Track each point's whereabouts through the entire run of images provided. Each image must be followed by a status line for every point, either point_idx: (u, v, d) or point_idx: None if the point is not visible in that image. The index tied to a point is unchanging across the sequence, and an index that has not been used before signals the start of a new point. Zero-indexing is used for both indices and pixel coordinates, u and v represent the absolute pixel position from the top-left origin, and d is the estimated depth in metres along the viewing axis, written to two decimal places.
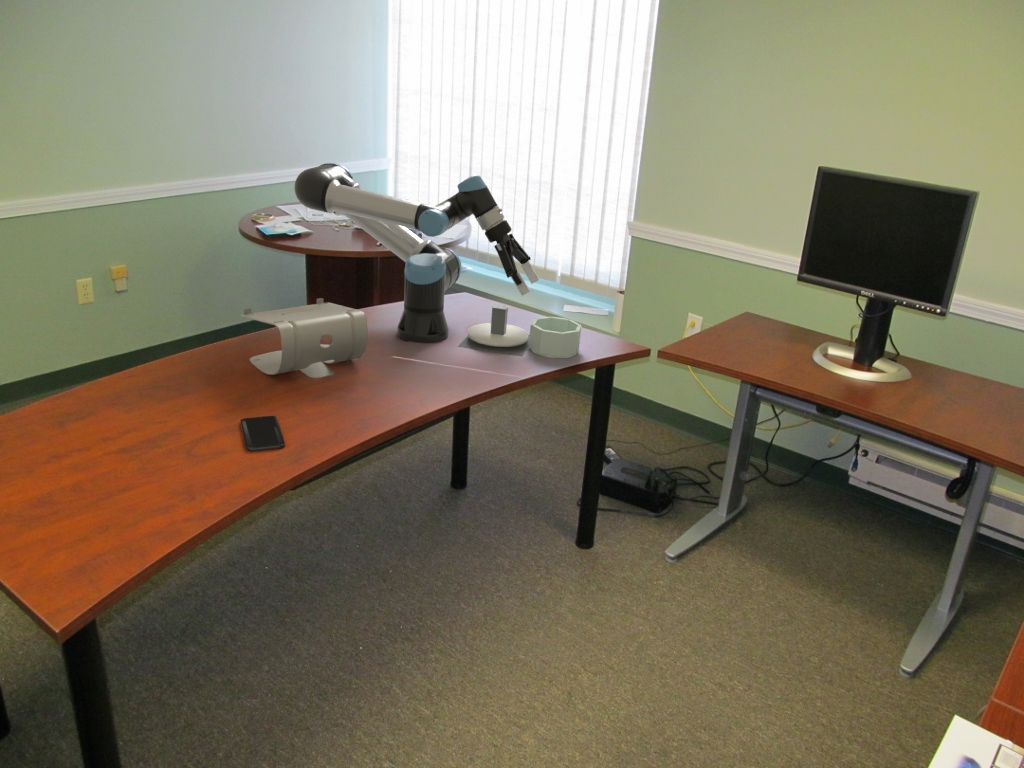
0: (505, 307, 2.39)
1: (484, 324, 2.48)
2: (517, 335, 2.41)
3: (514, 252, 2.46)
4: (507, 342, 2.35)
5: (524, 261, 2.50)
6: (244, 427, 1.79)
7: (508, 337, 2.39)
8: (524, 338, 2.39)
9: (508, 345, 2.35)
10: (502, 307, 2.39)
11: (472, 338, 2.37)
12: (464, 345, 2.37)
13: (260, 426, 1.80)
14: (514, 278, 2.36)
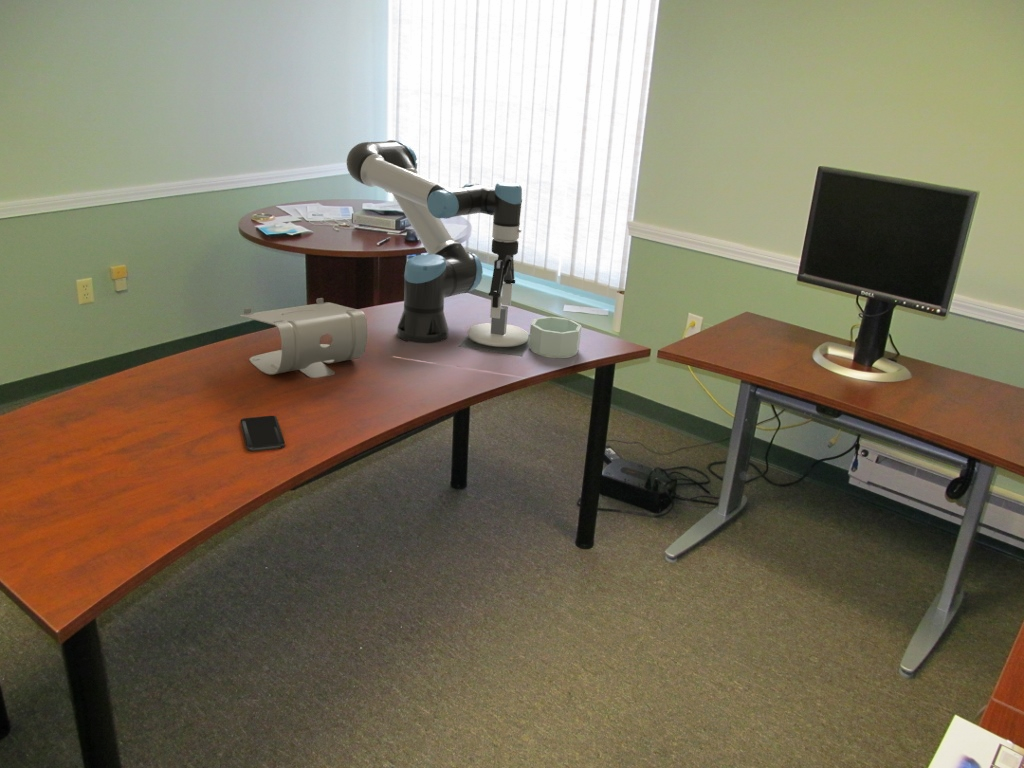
0: (505, 307, 2.39)
1: (484, 324, 2.48)
2: (517, 335, 2.41)
3: None
4: (507, 342, 2.35)
5: (508, 281, 2.43)
6: (244, 427, 1.79)
7: (508, 337, 2.39)
8: (524, 338, 2.39)
9: (508, 345, 2.35)
10: (502, 307, 2.39)
11: (472, 338, 2.37)
12: (464, 345, 2.37)
13: (260, 426, 1.80)
14: (494, 300, 2.30)
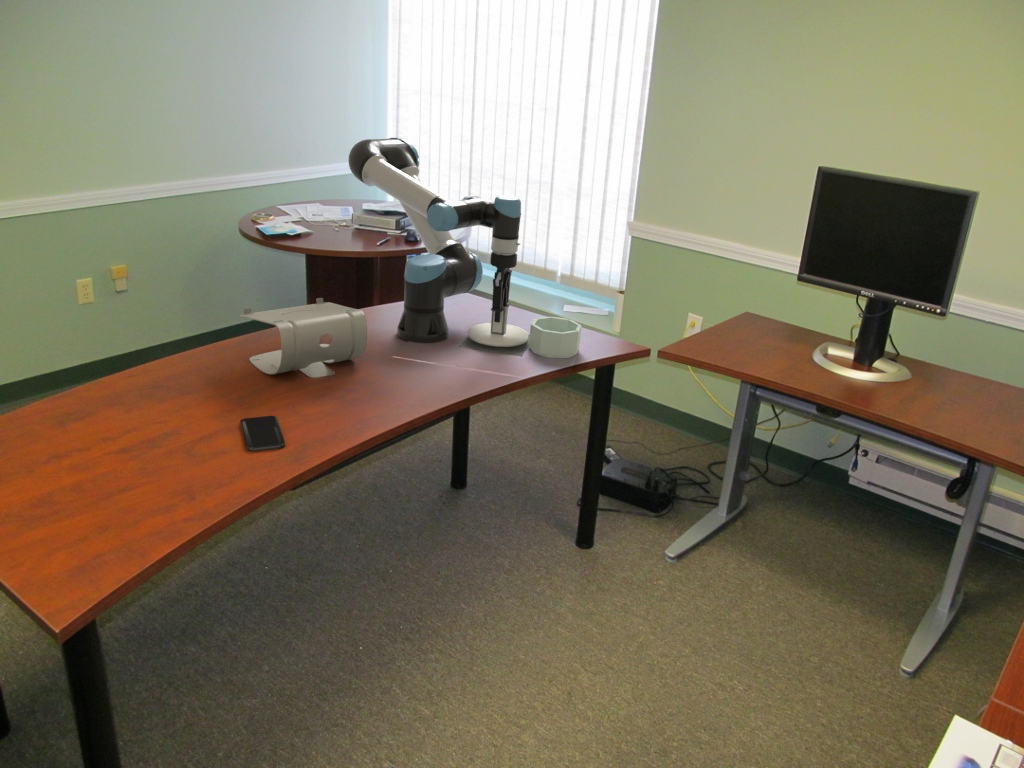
0: (505, 307, 2.39)
1: (484, 324, 2.48)
2: (517, 335, 2.41)
3: None
4: (507, 342, 2.35)
5: (502, 304, 2.41)
6: (244, 427, 1.79)
7: (508, 337, 2.39)
8: (524, 338, 2.39)
9: (508, 345, 2.35)
10: None
11: (472, 338, 2.37)
12: (464, 345, 2.37)
13: (260, 426, 1.80)
14: (496, 314, 2.37)
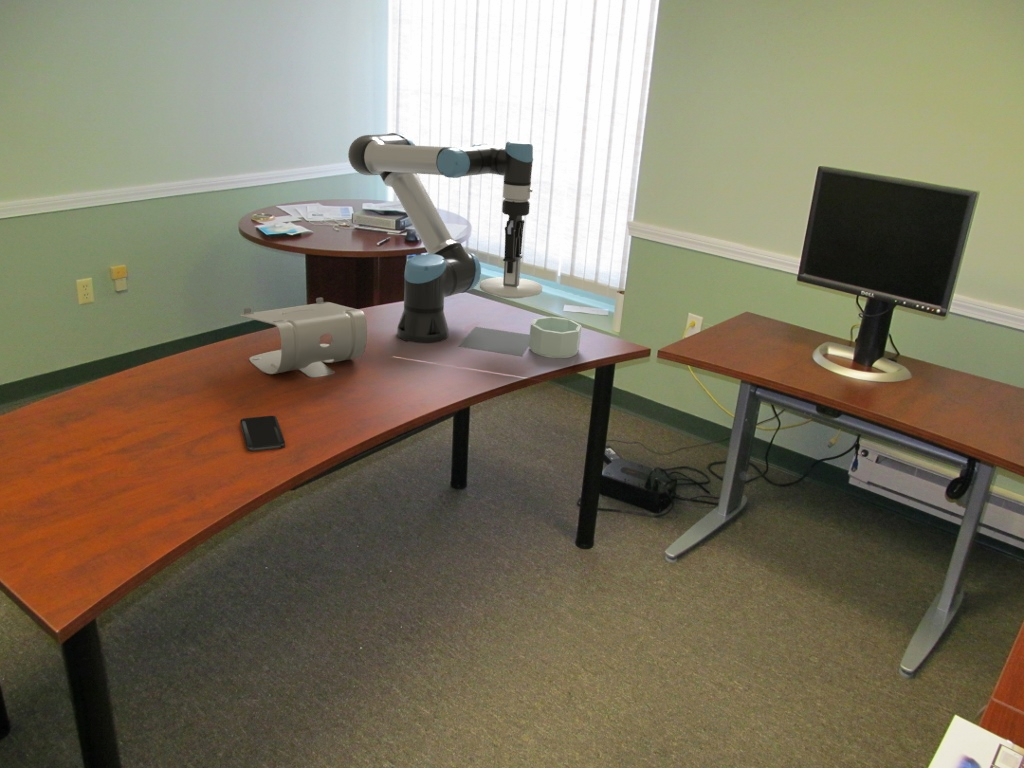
0: (518, 258, 2.33)
1: (496, 278, 2.41)
2: (530, 287, 2.35)
3: None
4: (520, 293, 2.28)
5: None
6: (244, 427, 1.79)
7: (521, 288, 2.33)
8: (538, 289, 2.33)
9: (521, 296, 2.28)
10: (515, 258, 2.32)
11: (484, 290, 2.31)
12: (464, 345, 2.37)
13: (260, 426, 1.80)
14: (508, 265, 2.30)
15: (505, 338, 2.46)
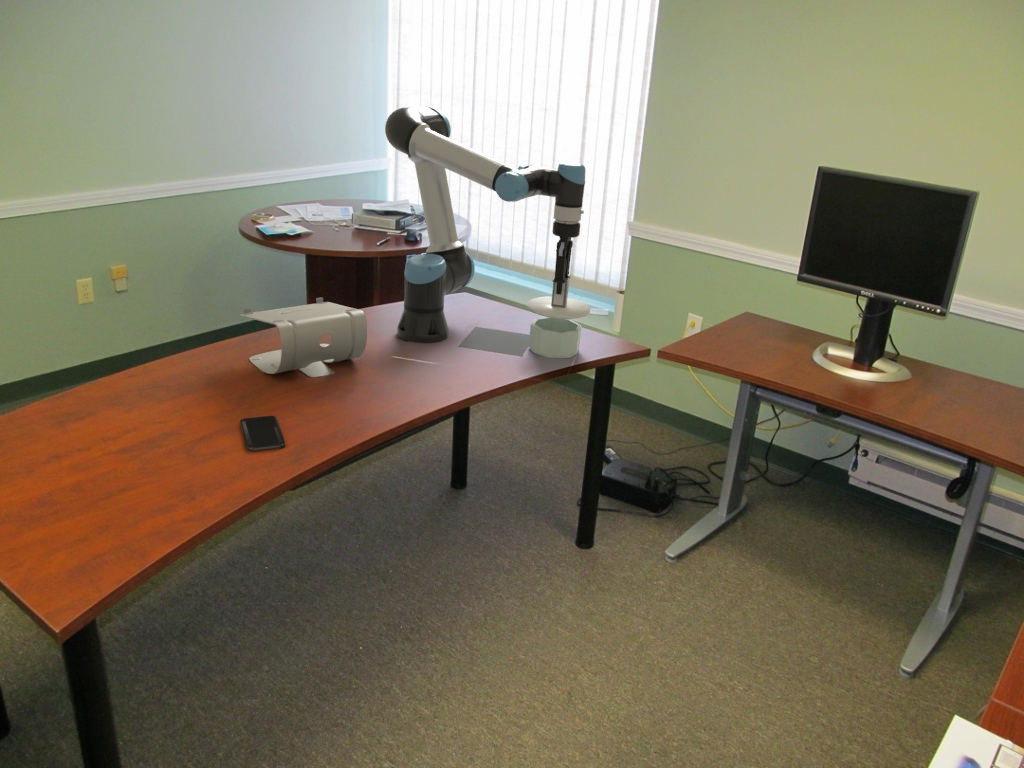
0: (567, 278, 2.32)
1: (543, 298, 2.41)
2: (578, 307, 2.34)
3: None
4: (570, 314, 2.28)
5: None
6: (244, 427, 1.79)
7: (570, 309, 2.32)
8: (586, 310, 2.32)
9: (571, 317, 2.27)
10: None
11: (533, 310, 2.30)
12: (464, 345, 2.37)
13: (260, 426, 1.80)
14: (558, 286, 2.29)
15: (505, 338, 2.46)
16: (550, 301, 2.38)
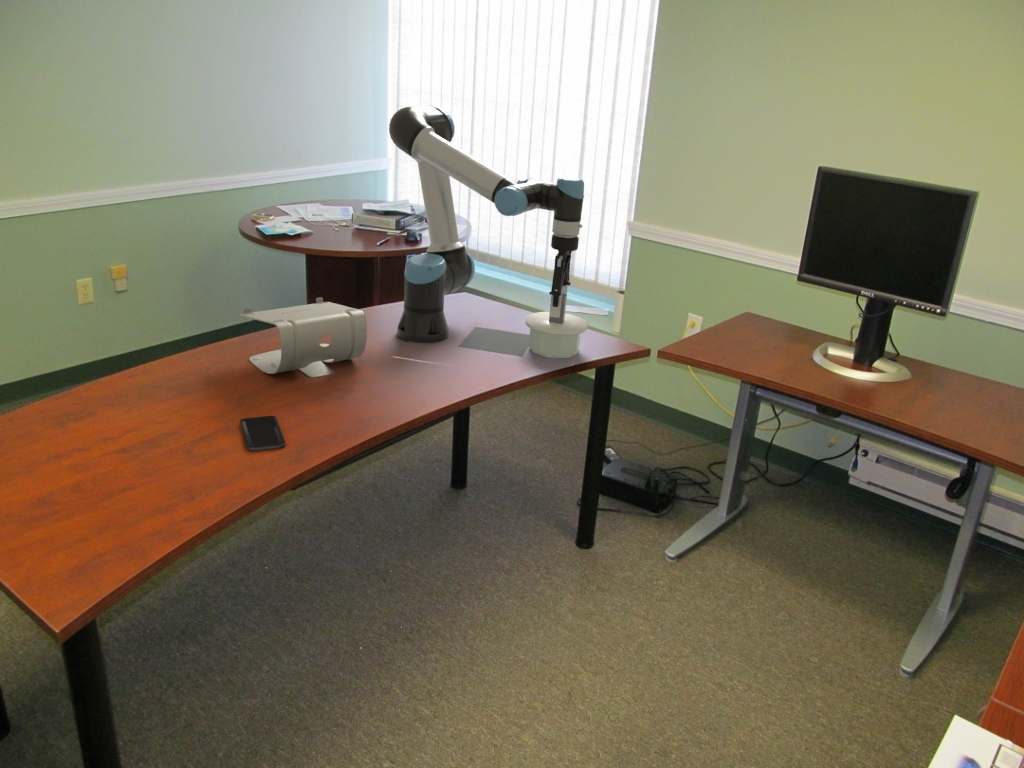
0: (564, 295, 2.34)
1: (540, 313, 2.43)
2: (576, 324, 2.36)
3: None
4: (567, 331, 2.30)
5: (563, 283, 2.38)
6: (244, 427, 1.79)
7: (567, 325, 2.34)
8: (584, 327, 2.34)
9: (568, 334, 2.29)
10: None
11: (531, 327, 2.32)
12: (464, 345, 2.37)
13: (260, 426, 1.80)
14: (554, 299, 2.28)
15: (505, 338, 2.46)
16: (548, 317, 2.40)
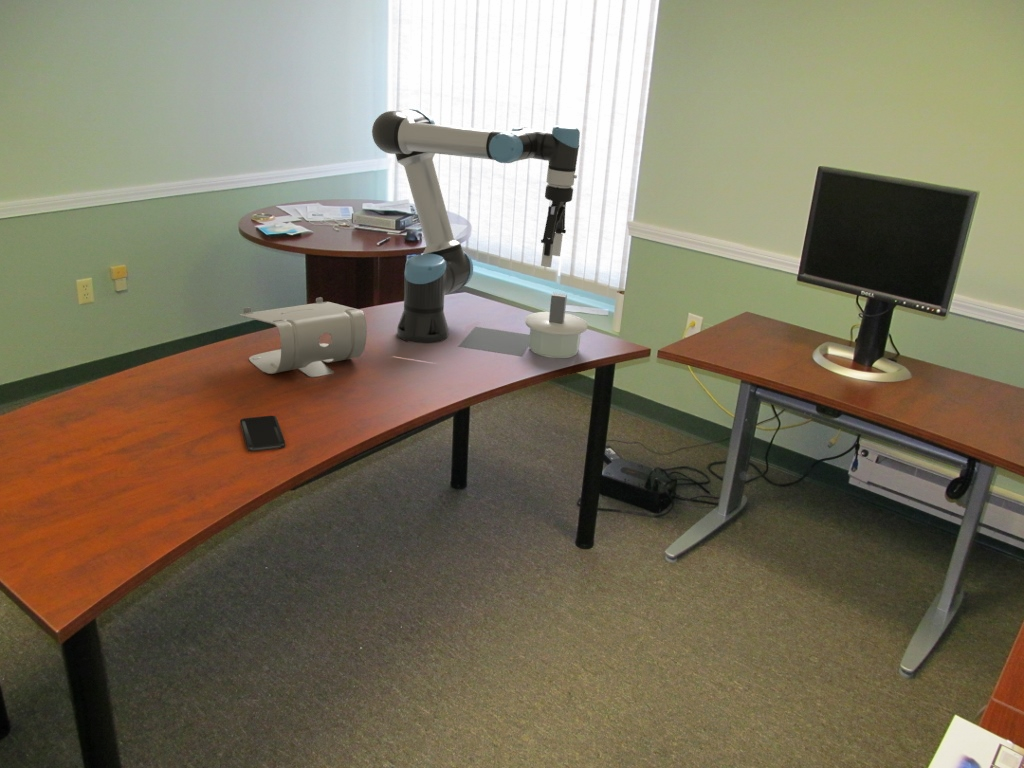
0: (564, 295, 2.34)
1: (540, 313, 2.43)
2: (576, 324, 2.36)
3: None
4: (567, 331, 2.30)
5: (558, 231, 2.36)
6: (244, 427, 1.79)
7: (567, 325, 2.34)
8: (584, 327, 2.34)
9: (568, 334, 2.29)
10: (561, 295, 2.33)
11: (531, 327, 2.32)
12: (464, 345, 2.37)
13: (260, 426, 1.80)
14: (546, 247, 2.23)
15: (505, 338, 2.46)
16: (548, 317, 2.40)
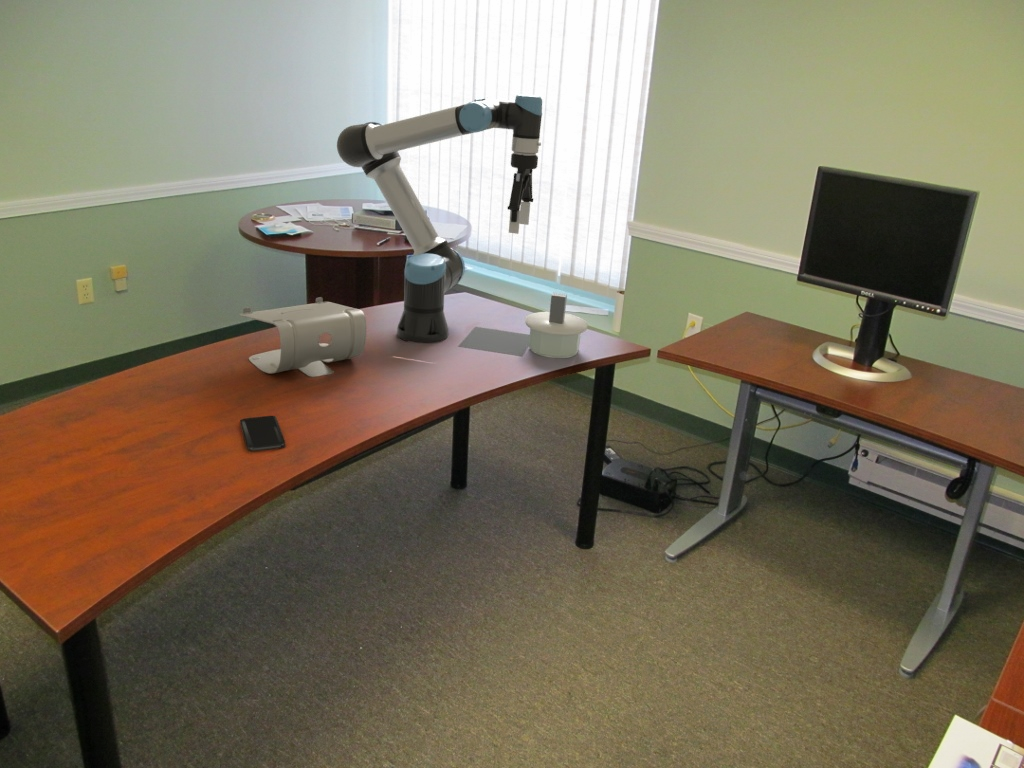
0: (564, 295, 2.34)
1: (540, 313, 2.43)
2: (576, 324, 2.36)
3: None
4: (567, 331, 2.30)
5: (526, 200, 2.41)
6: (244, 427, 1.79)
7: (567, 325, 2.34)
8: (584, 327, 2.34)
9: (568, 334, 2.29)
10: (561, 295, 2.33)
11: (531, 327, 2.32)
12: (464, 345, 2.37)
13: (259, 426, 1.80)
14: (513, 213, 2.28)
15: (505, 338, 2.46)
16: (548, 317, 2.40)
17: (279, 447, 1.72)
